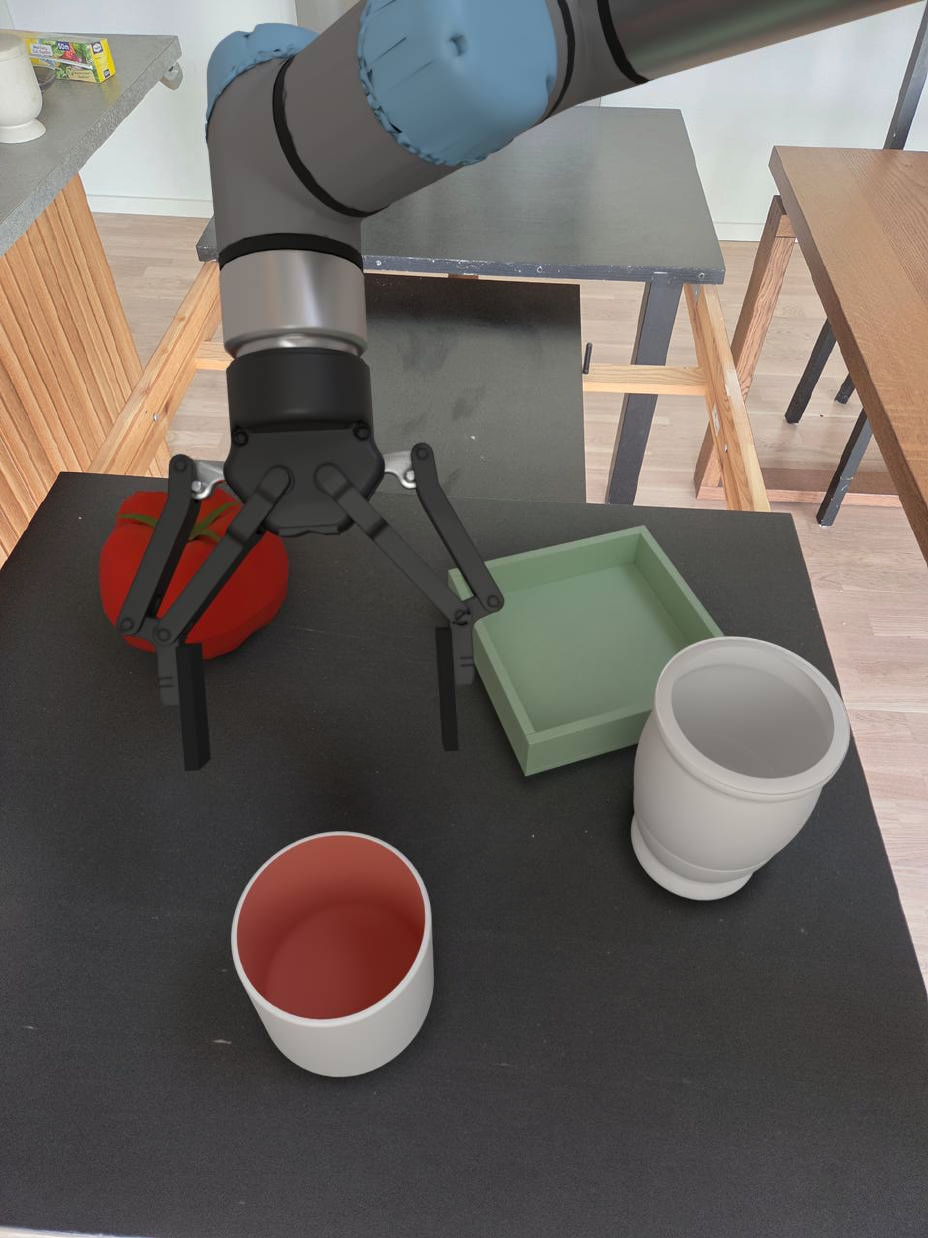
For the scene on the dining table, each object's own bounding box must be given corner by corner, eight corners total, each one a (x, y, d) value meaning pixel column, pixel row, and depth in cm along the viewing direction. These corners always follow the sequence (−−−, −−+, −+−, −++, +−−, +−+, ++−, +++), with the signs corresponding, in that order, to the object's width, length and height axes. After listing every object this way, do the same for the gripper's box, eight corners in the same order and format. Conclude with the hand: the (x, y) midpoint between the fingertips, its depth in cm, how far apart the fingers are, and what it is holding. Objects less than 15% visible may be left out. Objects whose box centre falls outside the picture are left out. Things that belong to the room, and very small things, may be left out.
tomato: (328, 612, 70) (311, 502, 61) (191, 719, 63) (149, 612, 54) (224, 542, 76) (195, 432, 67) (87, 633, 68) (33, 523, 59)
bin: (741, 713, 64) (756, 679, 61) (525, 777, 60) (529, 744, 57) (636, 559, 75) (644, 524, 72) (448, 604, 71) (447, 569, 68)
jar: (642, 752, 61) (685, 611, 50) (786, 808, 58) (866, 672, 47) (592, 876, 55) (628, 746, 44) (751, 947, 52) (833, 827, 41)
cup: (248, 940, 52) (214, 866, 44) (403, 885, 54) (395, 806, 47) (285, 1113, 45) (252, 1061, 38) (458, 1042, 48) (460, 979, 40)
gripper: (520, 368, 49) (540, 726, 50) (82, 386, 47) (113, 758, 49) (542, 330, 42) (565, 752, 43) (23, 350, 40) (61, 791, 41)
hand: (325, 756), depth 46 cm, fingers open, 13 cm apart
